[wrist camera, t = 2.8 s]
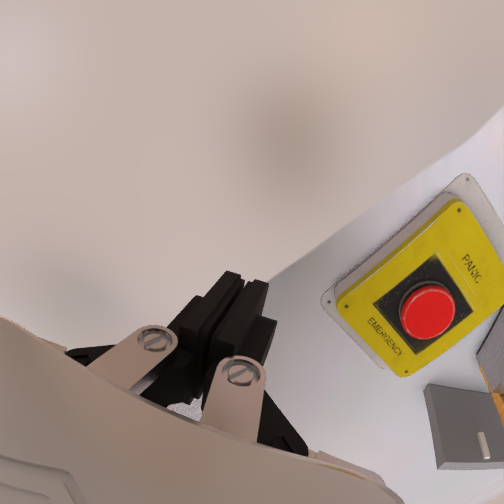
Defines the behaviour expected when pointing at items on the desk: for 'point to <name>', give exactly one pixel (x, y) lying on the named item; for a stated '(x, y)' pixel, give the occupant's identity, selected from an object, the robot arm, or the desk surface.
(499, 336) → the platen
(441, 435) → the frame
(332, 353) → the desk surface
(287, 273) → the desk surface
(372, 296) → the emergency button
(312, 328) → the desk surface
